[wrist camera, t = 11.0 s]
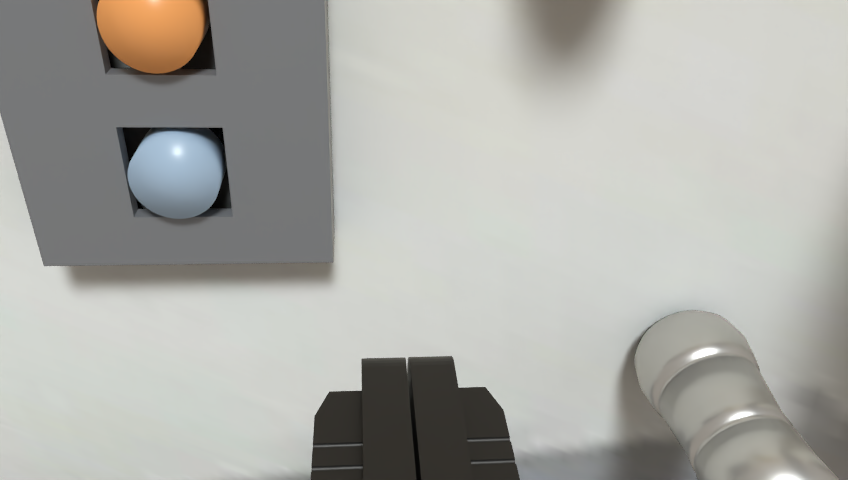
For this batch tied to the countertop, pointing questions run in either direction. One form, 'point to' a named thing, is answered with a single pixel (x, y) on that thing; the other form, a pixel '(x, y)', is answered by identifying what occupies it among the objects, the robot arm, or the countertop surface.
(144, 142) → the blue button
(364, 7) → the countertop surface
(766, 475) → the plastic bottle
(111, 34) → the orange button
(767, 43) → the countertop surface
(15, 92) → the button box
